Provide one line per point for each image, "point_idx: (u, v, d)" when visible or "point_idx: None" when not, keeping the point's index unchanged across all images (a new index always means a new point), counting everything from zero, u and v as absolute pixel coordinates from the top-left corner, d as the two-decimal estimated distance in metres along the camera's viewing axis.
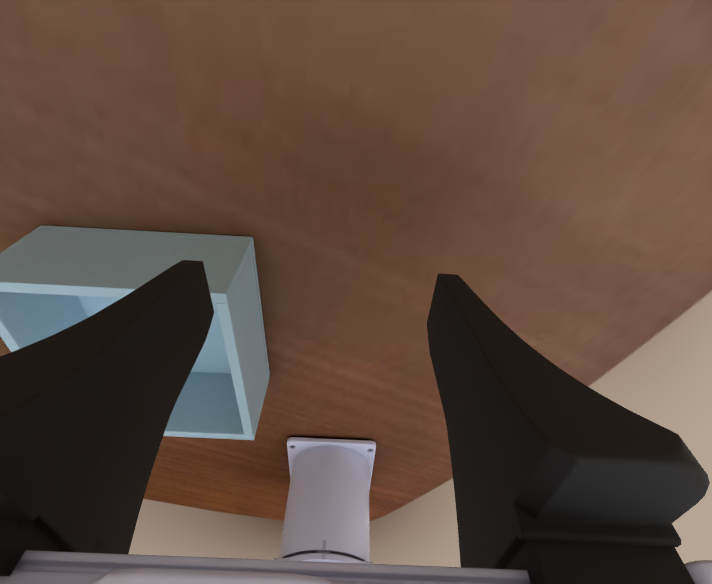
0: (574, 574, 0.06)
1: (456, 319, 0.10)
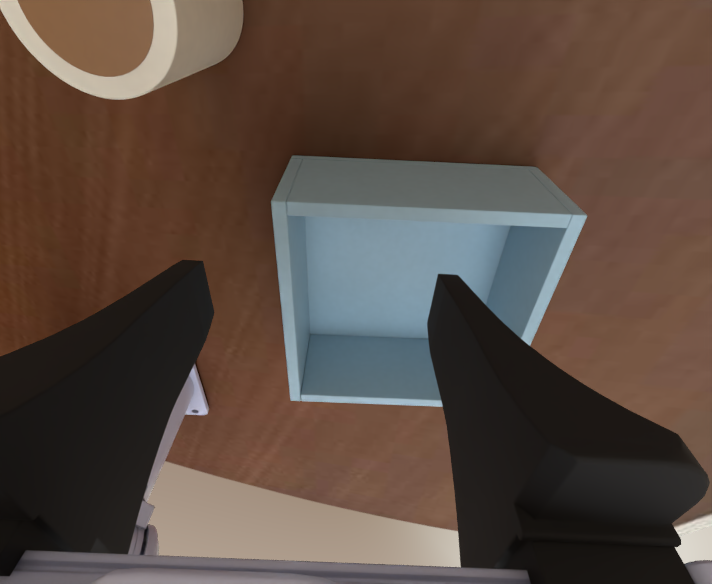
0: (574, 574, 0.06)
1: (456, 319, 0.10)
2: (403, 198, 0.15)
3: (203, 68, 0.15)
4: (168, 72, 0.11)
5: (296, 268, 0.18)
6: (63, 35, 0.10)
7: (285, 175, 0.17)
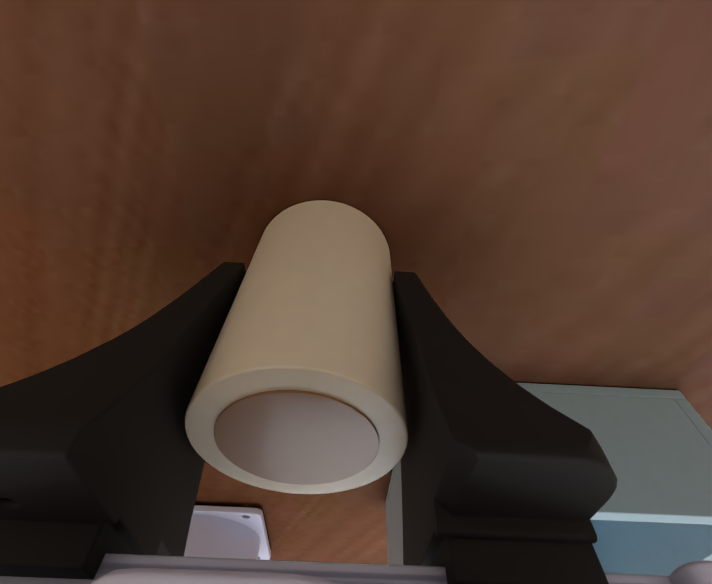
0: (486, 570, 0.06)
1: (405, 316, 0.10)
2: None
3: None
4: None
5: None
6: (261, 462, 0.08)
7: None
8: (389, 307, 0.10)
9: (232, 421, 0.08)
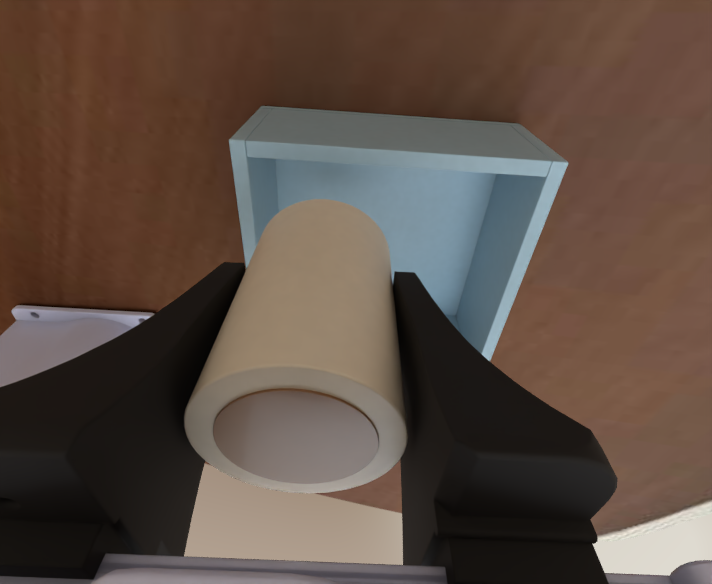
0: (486, 571, 0.06)
1: (405, 316, 0.10)
2: (373, 142, 0.14)
3: None
4: None
5: (262, 223, 0.17)
6: (260, 461, 0.08)
7: (250, 120, 0.16)
8: (389, 306, 0.10)
9: (231, 419, 0.08)
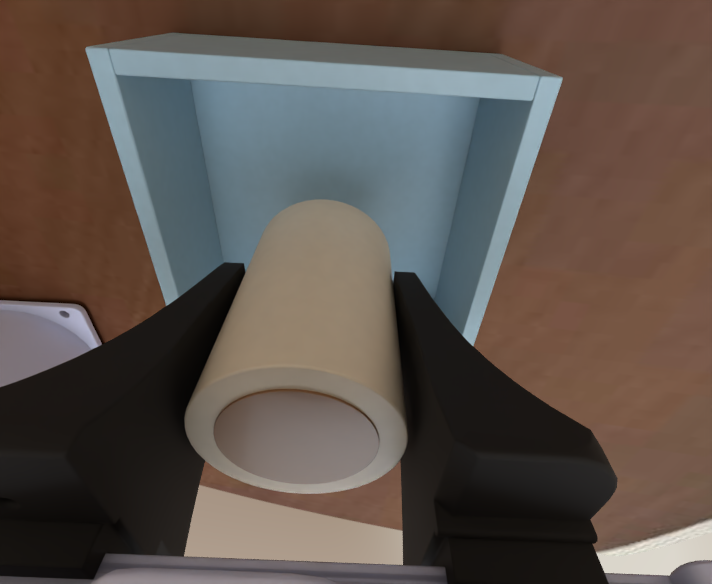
0: (486, 571, 0.06)
1: (405, 316, 0.10)
2: (293, 56, 0.10)
3: None
4: None
5: (167, 181, 0.13)
6: (260, 461, 0.08)
7: (139, 39, 0.12)
8: (389, 306, 0.10)
9: (232, 419, 0.08)
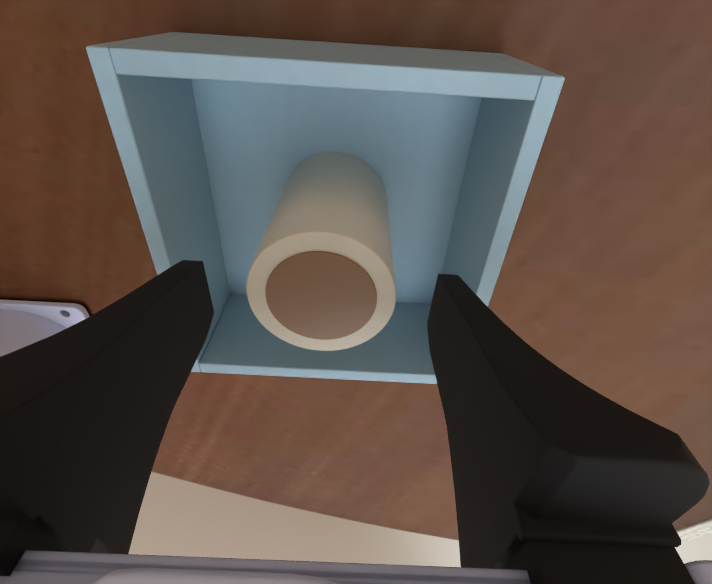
0: (574, 574, 0.06)
1: (456, 319, 0.10)
2: (294, 55, 0.10)
3: None
4: (372, 335, 0.13)
5: (168, 180, 0.13)
6: (295, 317, 0.12)
7: (140, 38, 0.12)
8: (384, 220, 0.14)
9: (278, 280, 0.11)
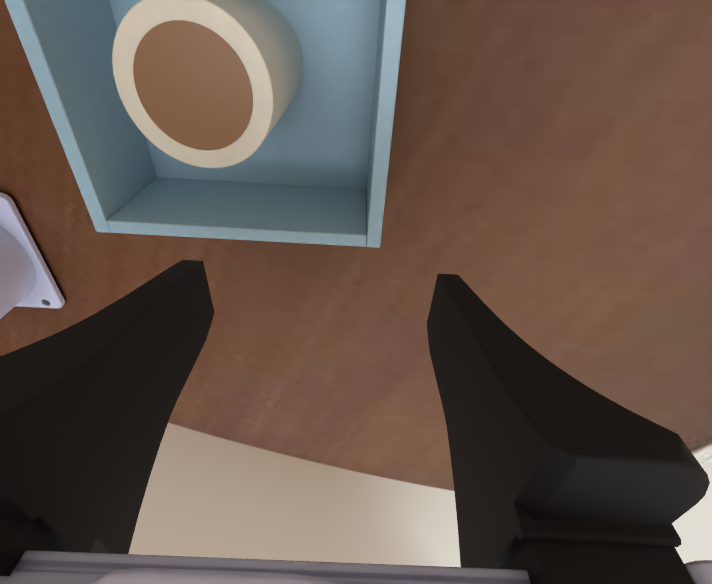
0: (574, 574, 0.06)
1: (456, 319, 0.10)
2: None
3: None
4: None
5: None
6: (172, 117, 0.12)
7: None
8: (277, 38, 0.13)
9: (145, 65, 0.11)
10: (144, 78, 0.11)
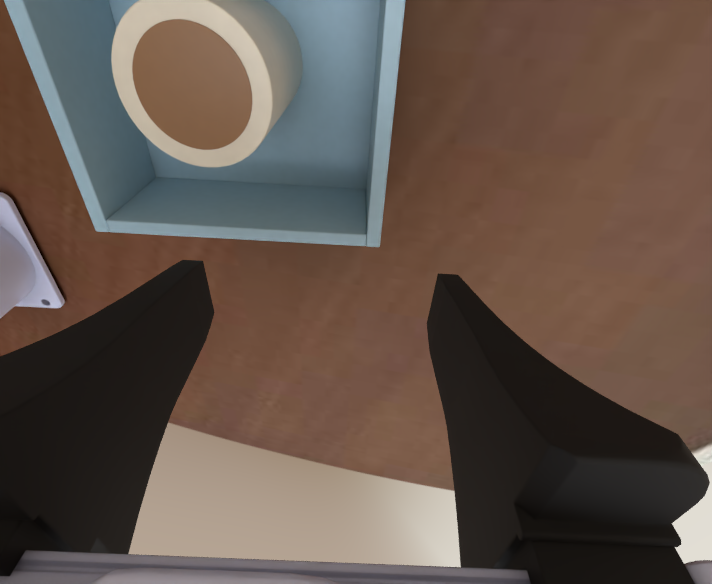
0: (574, 574, 0.06)
1: (456, 319, 0.10)
2: None
3: None
4: None
5: None
6: (171, 116, 0.12)
7: None
8: (277, 37, 0.13)
9: (145, 64, 0.11)
10: (143, 77, 0.11)
